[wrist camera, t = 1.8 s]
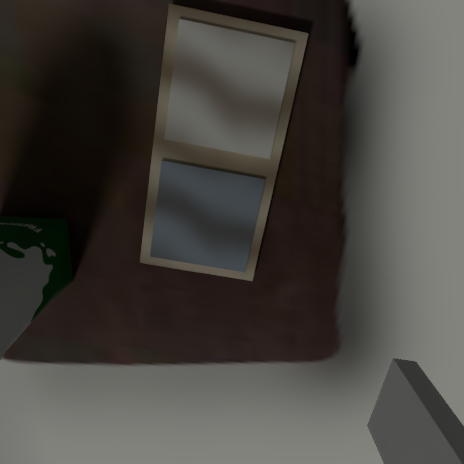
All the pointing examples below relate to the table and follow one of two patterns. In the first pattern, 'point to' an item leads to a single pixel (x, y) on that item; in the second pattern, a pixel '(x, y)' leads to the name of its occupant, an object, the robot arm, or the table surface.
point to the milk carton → (30, 270)
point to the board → (218, 140)
